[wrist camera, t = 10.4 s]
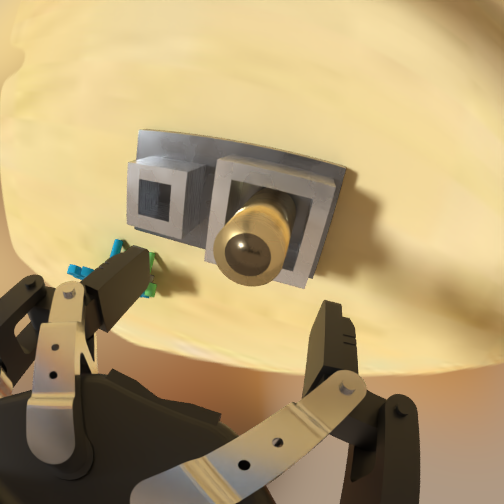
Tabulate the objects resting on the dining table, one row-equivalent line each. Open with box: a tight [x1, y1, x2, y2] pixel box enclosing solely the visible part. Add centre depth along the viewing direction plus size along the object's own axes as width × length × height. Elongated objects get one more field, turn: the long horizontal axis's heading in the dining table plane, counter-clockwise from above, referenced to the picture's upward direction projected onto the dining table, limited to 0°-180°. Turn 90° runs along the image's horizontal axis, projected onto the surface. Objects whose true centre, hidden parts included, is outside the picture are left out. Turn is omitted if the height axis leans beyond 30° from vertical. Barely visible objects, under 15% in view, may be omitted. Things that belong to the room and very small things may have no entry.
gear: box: [67, 239, 157, 298], centre depth 27 cm, size 11×6×10 cm
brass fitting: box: [213, 188, 296, 286], centre depth 19 cm, size 4×4×8 cm
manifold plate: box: [127, 129, 346, 289], centre depth 22 cm, size 10×18×5 cm, turn 80°
